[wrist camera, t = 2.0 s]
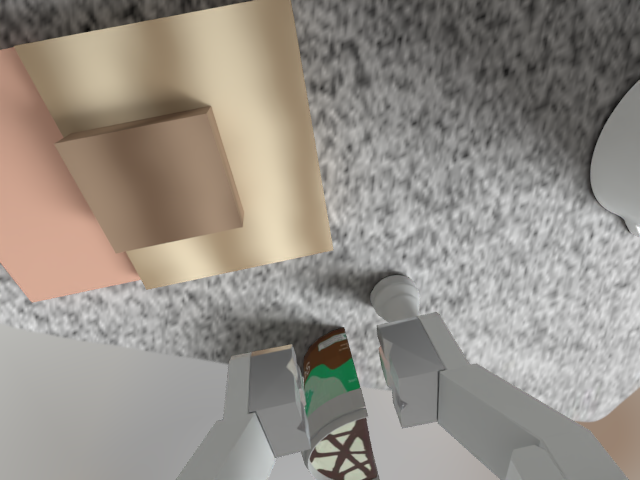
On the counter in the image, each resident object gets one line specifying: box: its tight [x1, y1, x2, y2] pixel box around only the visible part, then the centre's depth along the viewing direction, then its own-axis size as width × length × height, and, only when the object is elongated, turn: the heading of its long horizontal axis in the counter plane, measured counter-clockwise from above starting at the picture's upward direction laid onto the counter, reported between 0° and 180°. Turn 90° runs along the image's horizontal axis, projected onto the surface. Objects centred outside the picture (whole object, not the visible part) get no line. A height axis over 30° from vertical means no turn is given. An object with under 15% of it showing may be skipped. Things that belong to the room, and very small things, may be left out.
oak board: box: [14, 0, 333, 290], centre depth 24 cm, size 14×16×3 cm
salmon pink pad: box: [0, 47, 141, 302], centre depth 24 cm, size 9×16×2 cm, turn 9°
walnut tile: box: [54, 106, 244, 253], centre depth 22 cm, size 8×7×2 cm
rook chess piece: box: [370, 275, 420, 322], centre depth 31 cm, size 4×4×8 cm
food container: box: [301, 327, 380, 480], centre depth 34 cm, size 12×6×10 cm, turn 10°
